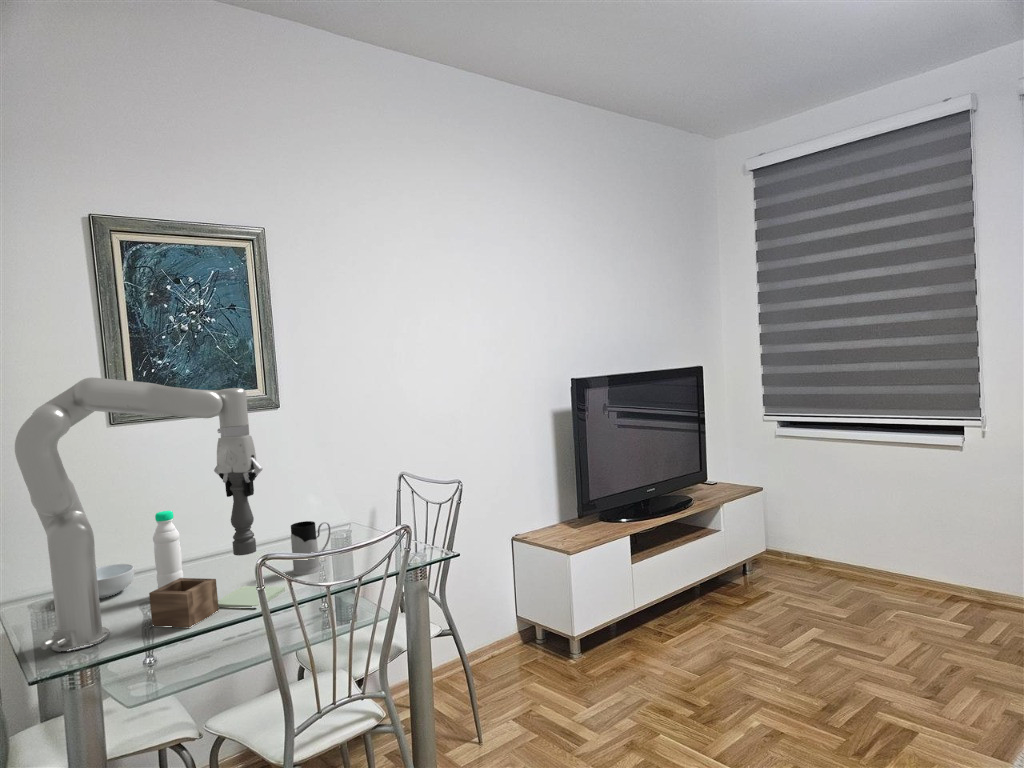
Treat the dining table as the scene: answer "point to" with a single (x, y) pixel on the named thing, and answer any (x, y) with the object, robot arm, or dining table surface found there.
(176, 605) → the walnut sleeve
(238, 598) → the sage mat
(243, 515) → the candle holder
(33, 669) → the dining table surface
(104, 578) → the cereal bowl
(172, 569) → the water bottle
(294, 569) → the gray black mug
